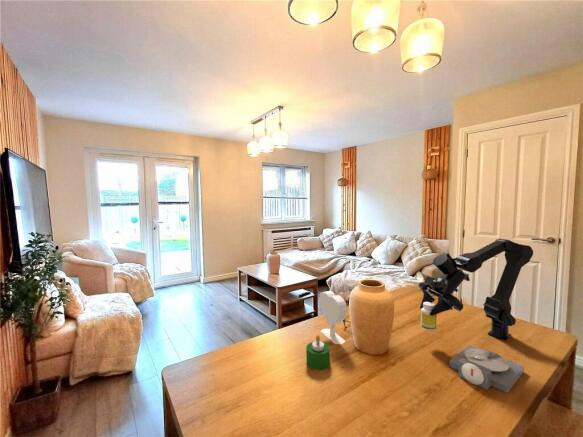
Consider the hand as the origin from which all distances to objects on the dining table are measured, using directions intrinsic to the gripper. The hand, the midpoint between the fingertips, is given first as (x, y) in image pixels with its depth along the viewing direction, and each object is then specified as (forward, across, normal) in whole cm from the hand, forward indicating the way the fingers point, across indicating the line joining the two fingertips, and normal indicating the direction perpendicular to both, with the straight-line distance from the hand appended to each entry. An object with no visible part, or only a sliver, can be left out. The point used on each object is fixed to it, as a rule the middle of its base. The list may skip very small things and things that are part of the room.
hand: (425, 311), depth 104 cm
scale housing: (+4, +18, +15) cm, 24 cm away
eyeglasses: (+22, -20, -2) cm, 29 cm away
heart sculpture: (+33, -14, -14) cm, 38 cm away
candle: (+40, +2, -22) cm, 46 cm away
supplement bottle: (+4, 0, +6) cm, 7 cm away
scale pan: (+1, +17, +14) cm, 23 cm away
